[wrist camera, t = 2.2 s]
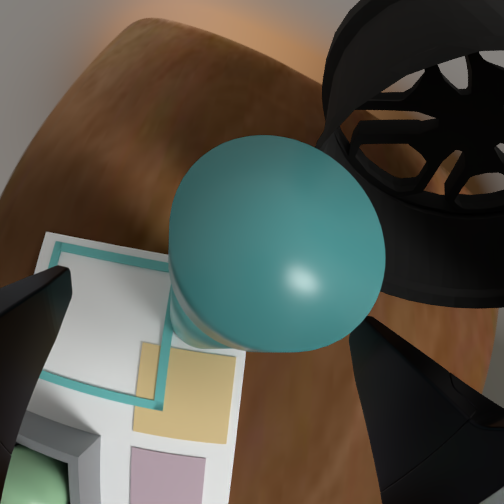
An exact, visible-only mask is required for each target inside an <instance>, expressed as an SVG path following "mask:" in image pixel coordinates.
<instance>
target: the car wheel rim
mask: <svg viewBox="0 0 504 504" xmlns="http://www.w3.org/2000/svg"><path fill="white" fill-rule="evenodd" d="M494 50H504V0H360V1H359V2H358V3H357V4H356V5H355V6H354V7H353V8H352V9H351V10H350V11H349V12H348V14H347V15H346V17H345V18H344V20H343V21H342V23H341V25H340V26H339V28H338V29H337V31H336V32H335V35H334V38H333V41H332V44H331V46H330V49H329V52H328V56H327V58H326V64H325V70H324V76H323V84H322V103H323V111H324V116H325V120H326V123H325V129H324V132H323V133H322V135H321V136H320V138H319V140H318V141H317V144H316V146H315V148H316V149H318V150H320V151H322V152H323V153H325V154H327V155H328V156H330V157H331V158H333V159H334V160H335V161H337V162H338V163H339V164H340V165H341V166H343V167H344V168H345V169H346V170H347V171H348V172H349V173H350V174H351V175H352V176H353V177H354V179H355V180H356V181H357V182H358V183H359V185H360V186H361V187H362V189H363V190H364V191H365V193H366V195H367V196H368V198H369V200H370V201H371V203H372V205H373V207H374V209H375V212H376V214H377V216H378V219H379V222H380V225H381V229H382V233H383V238H384V245H385V271H384V278H383V282H382V286H381V290H380V291H381V292H384V293H386V294H389V295H392V296H396V297H399V298H403V299H406V300H410V301H415V302H420V303H425V304H430V305H437V306H445V307H454V308H477V309H478V308H502V307H504V190H501V191H497V192H493V193H488V194H476V195H466V194H459V192H460V191H461V189H462V188H463V186H464V185H465V184H466V182H467V181H468V179H469V178H470V177H472V176H475V175H479V174H484V173H497V172H499V173H501V174H503V175H504V153H503V152H502V151H501V150H500V149H499V148H498V147H497V146H496V145H498V144H499V143H503V144H504V68H503V67H501V66H498V65H495V64H492V63H489V62H487V61H486V60H484V59H483V58H482V56H481V55H480V54H479V51H494ZM462 56H465V59H466V63H467V69H468V87H467V88H466V89H457V88H456V87H455V86H454V85H453V84H452V83H450V82H449V80H448V79H447V78H446V77H445V76H444V75H443V74H442V73H441V71H440V69H439V67H438V65H437V64H440V63H443V62H446V61H449V60H452V59H455V58H458V57H462ZM422 69H425V72H424V74H423V75H422V76H421V77H420V78H419V80H418V81H417V82H416V83H415V84H414V85H413V87H412V88H410V89H408V90H406V91H405V92H388V93H381V91H383V90H385V89H386V88H388V87H389V86H391V85H392V84H394V83H395V82H397V81H398V80H400V79H401V78H403V77H405V76H406V75H409V74H411V73H414V72H417V71H420V70H422ZM354 110H396V111H415V112H420V113H423V114H426V115H429V116H432V117H435V118H436V119H430V120H424V121H420V120H367V121H360V122H359V123H358V125H357V126H356V128H355V129H354V131H353V134H352V138H351V142H350V143H349V142H348V140H347V139H346V137H345V135H344V134H343V132H342V131H341V128H340V125H341V124H342V123H343V122H344V121H345V119H346V118H347V117H348V116H349V115H350V114H351V113H352V112H353V111H354ZM362 144H409V145H410V146H412V147H413V148H414V149H415V150H417V151H418V152H419V153H420V154H422V156H423V157H424V159H425V160H426V161H427V162H426V163H425V165H424V167H423V168H422V170H421V172H420V173H419V175H418V176H416V177H411V178H402V179H400V178H397V177H394V176H392V175H390V174H389V173H387V172H386V171H384V170H382V169H381V168H379V167H378V166H377V165H376V164H374V163H373V162H372V161H371V160H369V159H368V158H367V157H366V156H365V155H364V153H363V152H362V151H361V150H360V148H359V147H360V145H362ZM455 150H460V151H462V153H461V155H460V157H459V159H458V161H457V162H456V164H455V166H454V168H453V170H452V171H451V173H450V175H449V176H448V178H447V180H446V182H445V183H444V186H445V195H439V194H435V193H431V192H427V191H423V190H424V188H425V187H426V186H427V184H428V183H429V181H430V180H431V178H432V177H433V175H434V174H435V172H436V171H437V169H438V167H439V166H440V164H441V163H442V161H443V160H445V159H446V158H447V157H448V156H449V155H450V154H451V153H452V152H454V151H455Z"/></svg>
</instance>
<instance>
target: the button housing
mask: <svg viewBox="0 0 504 504" xmlns="http://www.w3.org/2000/svg"><path fill="white" fill-rule="evenodd" d="M19 444H21V445H24V446H26V447H28V448H30V449H32V450H35V451H37V452H40V453H42V454H44V455H47V456H49V457H52V458H55V459H57V460H60V461H63V462H65V463H68V476H69V492H70V501H69V502H68V504H101V493H100V446H101V436H100V435H97V434H93V433H90V432H86V431H83V430H80V429H77V428H73V427H70V426H67V425H64V424H62V423H59V422H56V421H53V420H51V419H48V418H45V417H43V416H40V415H38V414H35V413H33V412H30V411H28V410H26V412H25V415H24V418H23V421H22V424H21V427H20V430H19V433H18V436H17V439H16V442H15V446H17V445H19ZM15 446H14V447H15Z"/></svg>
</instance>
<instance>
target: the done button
mask: <svg viewBox="0 0 504 504" xmlns="http://www.w3.org/2000/svg"><path fill="white" fill-rule="evenodd" d="M11 456H12V457H11V460H10V464H9V468H8V472H7V476H6V480H5V484H4V489H3V493H2V498H1V503H0V504H68V502H69V501H70V492H69V476H68V463H65V462H63V461H60V460H57V459H55V458H52V457H49V456H47V455H44V454H42V453H40V452H37V451H35V450H32V449H30V448H28V447H26V446H24V445H21V444H19V445H17V446H15V447H14V449H13V452H12V455H11Z"/></svg>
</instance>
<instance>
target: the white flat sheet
mask: <svg viewBox="0 0 504 504" xmlns="http://www.w3.org/2000/svg"><path fill="white" fill-rule="evenodd" d="M56 265H60V266H64V267H68V268H69V269H70V271H71V281H72V298H71V301H70V304H69V306H68V309H67V311H66V314H65V317H64V319H63V322H62V325H61V328H60V330H59V333H58V336H57V338H56V341H55V343H54V345H53V347H52V349H51V352H50V354H49V356H48V358H47V360H46V363H45V365H44V367H43V369H42V372H41V374H40V377H39V379H38V381H37V384H36V386H35V389H34V391H33V394H32V396H31V399H30V402H29V404H28V407H27V410H28V411H30V412H33V413H35V414H38V415H40V416H43V417H45V418H48V419H51V420H53V421H56V422H59V423H62V424H64V425H67V426H70V427H73V428H77V429H80V430H83V431H86V432H90V433H93V434H97V435H100V436H101V446H100V493H101V504H228V501H229V492H230V484H231V476H232V468H233V459H234V451H235V442H236V434H237V425H238V417H239V408H240V399H241V391H242V382H243V373H244V365H245V356H246V351H242V350H237V349H199V348H195V347H192V346H190V345H188V344H186V343H185V342H183V341H182V340H181V339H180V338H179V337H178V336H177V335H176V333H175V332H174V330H173V328H172V325H171V321H170V300H171V281H170V275H169V268H168V255H167V254H161V253H156V252H150V251H145V250H139V249H134V248H128V247H123V246H118V245H113V244H107V243H102V242H97V241H92V240H86V239H81V238H76V237H71V236H66V235H61V234H56V233H51V232H46V234H45V237H44V241H43V244H42V247H41V251H40V254H39V258H38V261H37V265H36V269H35V273H34V274H36V273H39V272H41V271H44V270H46V269H49V268H51V267H54V266H56Z"/></svg>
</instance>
